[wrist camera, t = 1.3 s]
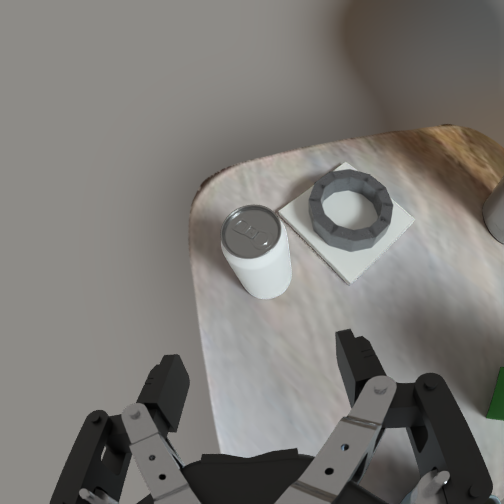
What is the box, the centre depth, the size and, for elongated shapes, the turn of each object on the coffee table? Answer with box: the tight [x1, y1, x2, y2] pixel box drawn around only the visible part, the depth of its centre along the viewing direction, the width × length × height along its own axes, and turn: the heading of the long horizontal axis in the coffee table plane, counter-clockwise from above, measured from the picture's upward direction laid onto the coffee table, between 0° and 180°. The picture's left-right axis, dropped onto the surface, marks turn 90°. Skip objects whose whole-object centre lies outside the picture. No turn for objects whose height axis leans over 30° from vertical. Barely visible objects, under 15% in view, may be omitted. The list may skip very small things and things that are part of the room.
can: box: [221, 205, 292, 299], centre depth 31 cm, size 6×6×12 cm
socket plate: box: [278, 162, 415, 286], centre depth 37 cm, size 14×14×1 cm
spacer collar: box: [309, 169, 393, 252], centre depth 35 cm, size 11×11×3 cm
